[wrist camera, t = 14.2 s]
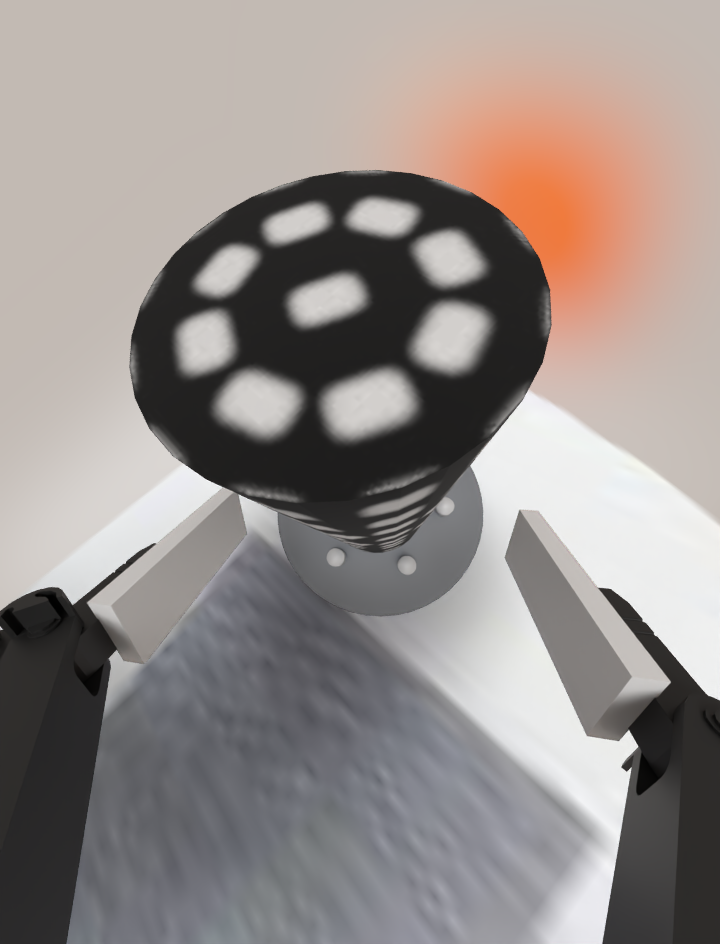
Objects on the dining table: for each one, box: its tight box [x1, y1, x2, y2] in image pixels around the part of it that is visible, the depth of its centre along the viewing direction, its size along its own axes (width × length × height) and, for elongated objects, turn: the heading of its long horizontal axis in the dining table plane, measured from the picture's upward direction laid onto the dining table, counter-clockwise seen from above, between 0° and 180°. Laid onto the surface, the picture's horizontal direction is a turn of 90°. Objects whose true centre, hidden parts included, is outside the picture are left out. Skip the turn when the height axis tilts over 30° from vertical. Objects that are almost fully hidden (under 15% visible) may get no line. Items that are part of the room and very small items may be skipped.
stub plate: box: [278, 466, 483, 616], centre depth 25 cm, size 18×18×3 cm
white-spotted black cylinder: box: [130, 170, 551, 553], centre depth 15 cm, size 8×8×20 cm
